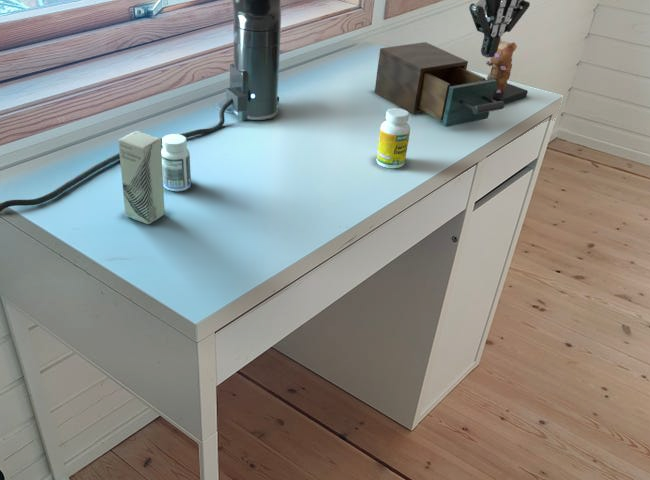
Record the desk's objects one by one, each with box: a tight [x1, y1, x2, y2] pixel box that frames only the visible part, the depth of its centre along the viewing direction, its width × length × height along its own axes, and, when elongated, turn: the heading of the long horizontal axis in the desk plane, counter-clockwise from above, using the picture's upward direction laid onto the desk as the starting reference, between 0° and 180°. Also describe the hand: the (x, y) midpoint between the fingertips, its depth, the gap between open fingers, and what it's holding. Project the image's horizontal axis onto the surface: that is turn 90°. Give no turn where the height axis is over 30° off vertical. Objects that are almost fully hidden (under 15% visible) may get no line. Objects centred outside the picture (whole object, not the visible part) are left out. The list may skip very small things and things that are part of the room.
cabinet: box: [374, 41, 469, 116], centre depth 150 cm, size 15×13×10 cm
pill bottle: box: [161, 133, 192, 192], centre depth 115 cm, size 5×5×8 cm
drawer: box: [417, 66, 505, 128], centre depth 142 cm, size 19×11×8 cm, turn 28°
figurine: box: [485, 38, 529, 106], centre depth 153 cm, size 10×10×12 cm
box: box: [118, 130, 166, 225], centre depth 105 cm, size 5×4×13 cm
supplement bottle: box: [376, 107, 411, 169], centre depth 124 cm, size 5×5×10 cm
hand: (487, 56), depth 131 cm, fingers closed
